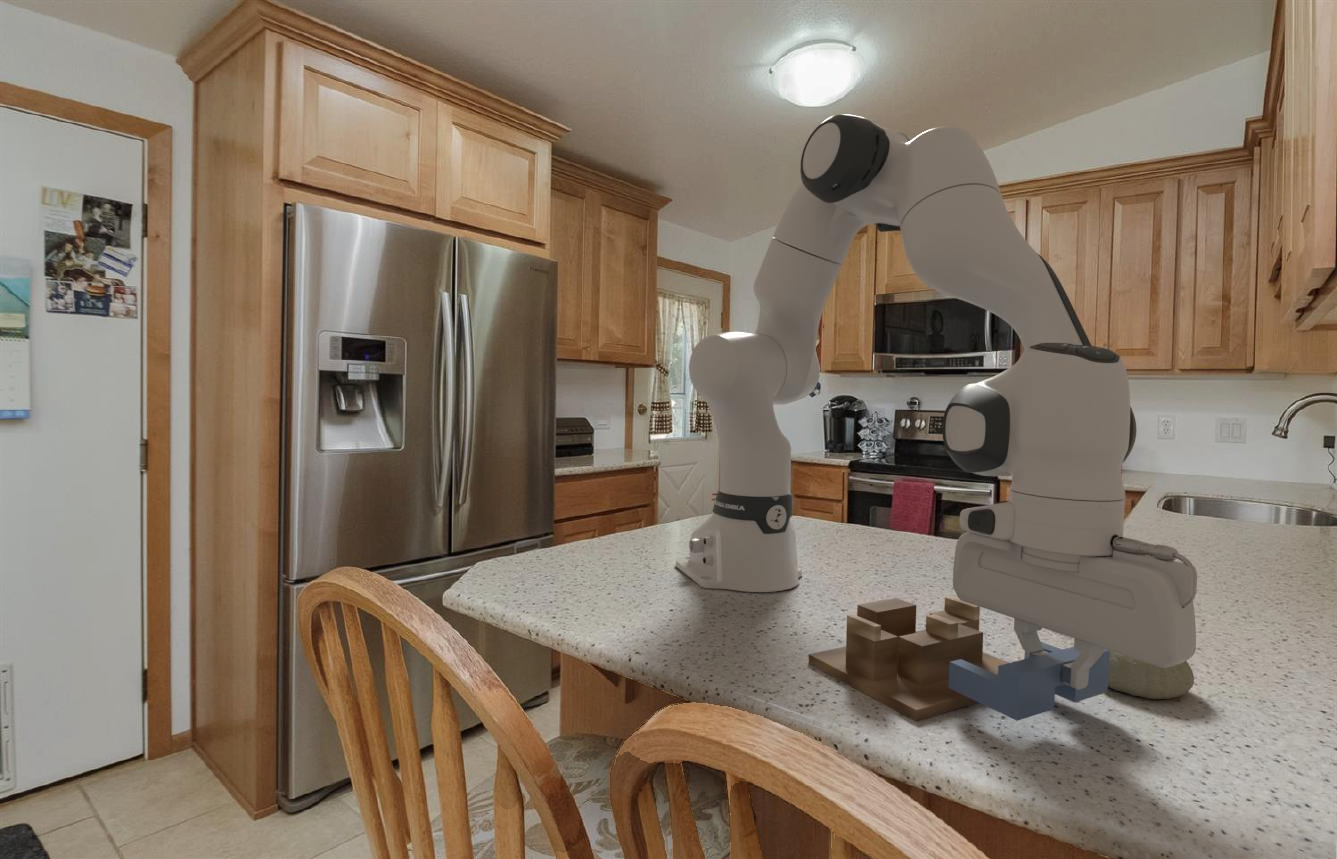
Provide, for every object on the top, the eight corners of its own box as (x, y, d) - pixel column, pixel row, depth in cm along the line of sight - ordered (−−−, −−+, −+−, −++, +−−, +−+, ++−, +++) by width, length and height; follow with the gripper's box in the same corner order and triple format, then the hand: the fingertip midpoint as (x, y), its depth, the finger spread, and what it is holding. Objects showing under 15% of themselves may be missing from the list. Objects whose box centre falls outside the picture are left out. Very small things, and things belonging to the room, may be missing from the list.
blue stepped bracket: (948, 687, 64) (950, 645, 64) (1036, 664, 70) (1038, 626, 70) (1017, 720, 58) (1019, 674, 57) (1107, 692, 64) (1110, 650, 63)
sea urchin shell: (1164, 695, 64) (1107, 618, 69) (1104, 727, 69) (1055, 653, 74) (1224, 680, 67) (1165, 607, 72) (1161, 712, 73) (1111, 642, 78)
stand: (808, 663, 75) (809, 603, 75) (924, 637, 84) (925, 584, 83) (916, 720, 62) (918, 649, 62) (1040, 684, 70) (1042, 620, 70)
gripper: (1219, 548, 53) (1207, 721, 54) (988, 505, 71) (981, 635, 72) (1175, 555, 50) (1163, 739, 51) (945, 509, 68) (939, 645, 69)
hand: (1054, 677), depth 61 cm, fingers closed on blue stepped bracket, 2 cm apart
